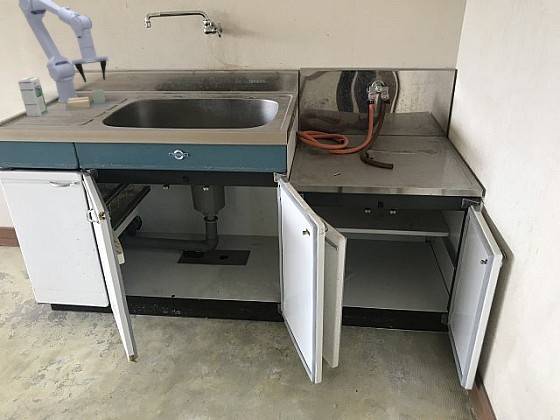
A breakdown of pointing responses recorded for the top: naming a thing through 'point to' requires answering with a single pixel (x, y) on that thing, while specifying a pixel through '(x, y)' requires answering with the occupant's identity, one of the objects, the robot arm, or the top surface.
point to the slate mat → (92, 105)
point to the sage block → (98, 95)
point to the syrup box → (32, 96)
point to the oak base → (78, 103)
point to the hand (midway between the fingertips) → (95, 80)
